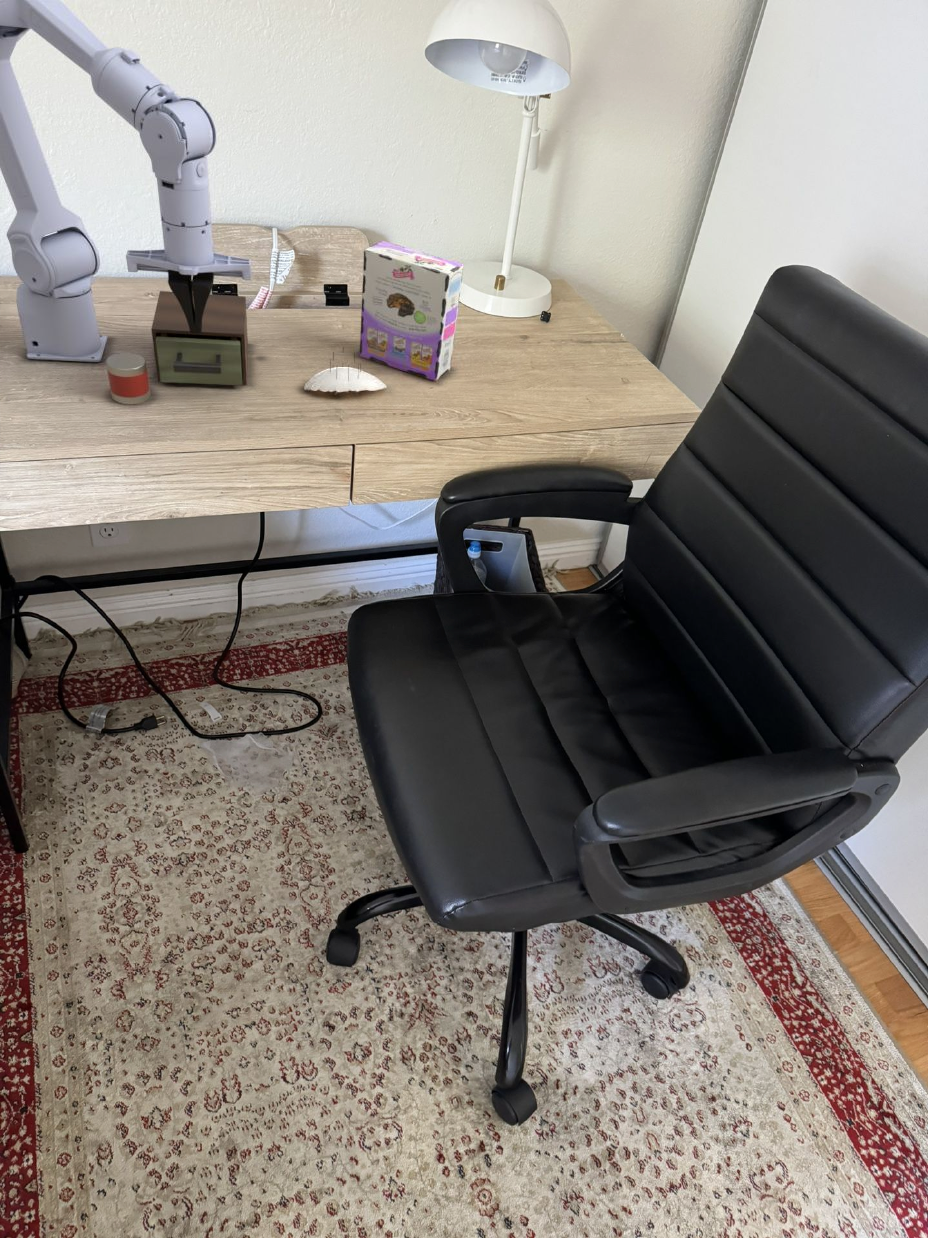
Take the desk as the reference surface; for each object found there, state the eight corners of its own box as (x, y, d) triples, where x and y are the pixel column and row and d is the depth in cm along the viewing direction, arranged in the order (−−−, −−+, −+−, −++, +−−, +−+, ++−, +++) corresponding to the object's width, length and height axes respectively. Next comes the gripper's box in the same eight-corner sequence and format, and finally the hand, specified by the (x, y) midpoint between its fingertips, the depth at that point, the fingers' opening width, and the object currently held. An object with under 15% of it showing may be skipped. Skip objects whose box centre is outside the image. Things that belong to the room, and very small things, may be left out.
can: (109, 404, 106) (103, 368, 102) (114, 386, 109) (108, 351, 106) (148, 405, 107) (143, 370, 103) (152, 387, 110) (147, 353, 107)
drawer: (241, 400, 110) (239, 358, 106) (157, 397, 107) (152, 354, 103) (243, 347, 121) (241, 307, 117) (167, 343, 119) (163, 302, 115)
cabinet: (246, 384, 115) (244, 333, 110) (157, 381, 112) (151, 328, 107) (247, 344, 124) (245, 296, 119) (165, 340, 121) (159, 290, 116)
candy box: (451, 369, 127) (466, 263, 116) (435, 383, 123) (449, 273, 112) (375, 344, 130) (382, 237, 119) (357, 356, 126) (362, 247, 115)
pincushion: (381, 380, 121) (384, 344, 117) (390, 400, 117) (393, 363, 113) (301, 381, 118) (301, 343, 114) (307, 401, 113) (307, 363, 110)
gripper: (116, 224, 91) (133, 340, 100) (248, 235, 94) (253, 346, 104) (124, 205, 96) (139, 316, 105) (249, 216, 99) (253, 323, 109)
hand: (196, 330), depth 105 cm, fingers closed
